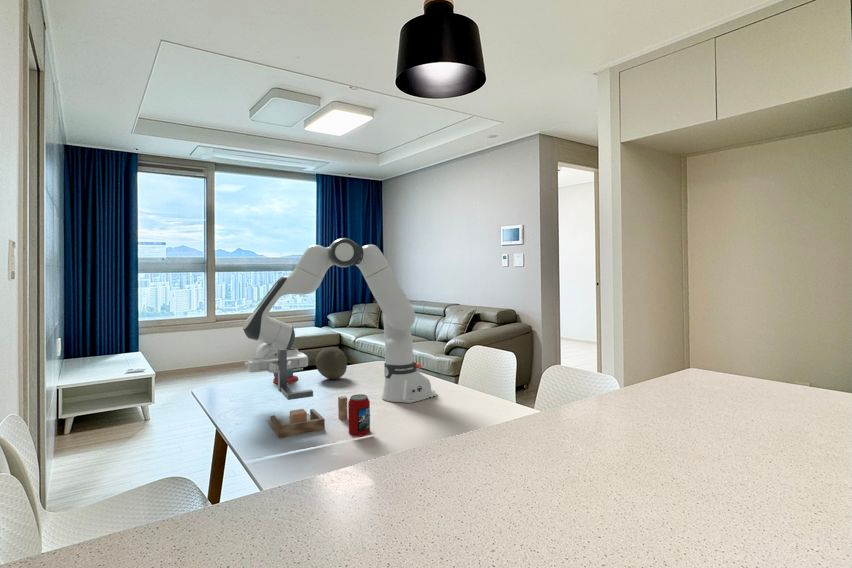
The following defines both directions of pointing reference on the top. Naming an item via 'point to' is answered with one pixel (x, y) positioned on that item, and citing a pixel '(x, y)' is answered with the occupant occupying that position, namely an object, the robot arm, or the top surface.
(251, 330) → the robot arm
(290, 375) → the stacking bear
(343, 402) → the plain rod
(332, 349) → the cantaloupe
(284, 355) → the hook tool
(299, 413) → the block
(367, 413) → the beverage can
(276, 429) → the wooden tray
